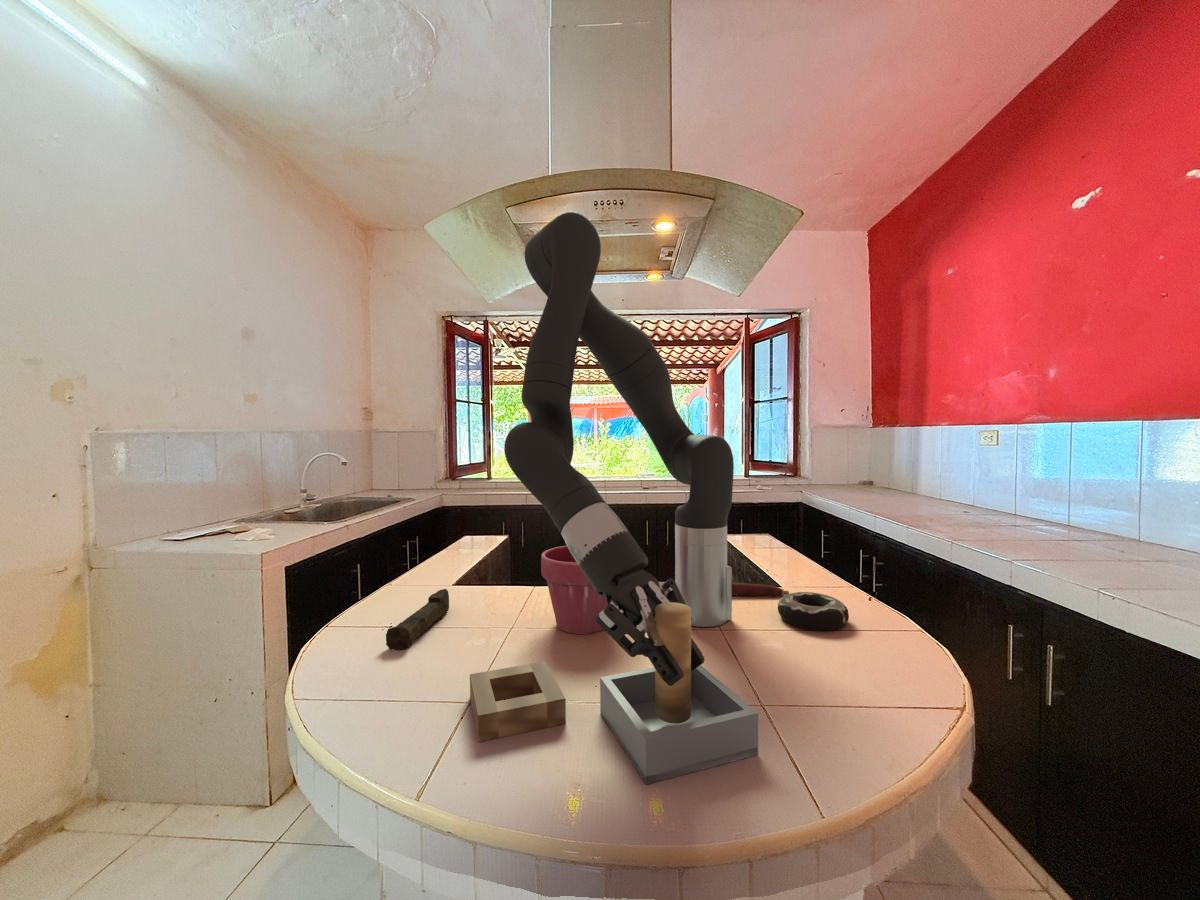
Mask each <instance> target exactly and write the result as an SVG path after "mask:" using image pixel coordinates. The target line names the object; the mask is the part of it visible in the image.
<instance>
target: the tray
mask: <svg viewBox="0 0 1200 900" xmlns="http://www.w3.org/2000/svg"><path fill="white" fill-rule="evenodd" d="M599 680H600V681H599V685H600V686H599V687H600V688H599V692H600V696H599V698H600V702H599V703H600V711H599V712H600V715H601V717H602V718H603V720H604V721H605V723H606V725H607V726H608V728H609V729H610V732H611V733H612V732H613V733H612V734H613V736H614V737H615V739H616V741H617V742H618V744H619V745H620V747H621V748H622V750H623V752H624V753H625V755H626V757H627V758H628V760H629V761H630V763H631V764H632V765H633V767H634V768H635V770H636V772H637V774H638V775H639V777H640V778H641V780H642V781H643V783H644V784H645V785H646V786H647V785H651V784H654V783H658V782H661V781H666V780H669V779H673V778H677V777H680V776H684V775H687V774H691V773H695V772H699V771H702V770H706V769H710V768H713V767H716V766H717V767H718V766H720V765H724V764H725V765H726V764H729V763H731V762H736V761H739V760H743V759H747V758H750V757H754V756H755V757H756V756H758V755H759V712H758V711H756V709H754V708H753V707H752V706H751V705H749V703H747V702H746V701H745V700H743V699H742V698H741V697H740V696H739V695H737V693H735V692H734V691H733V690H731V689H730V688H729V687H728V686H726V684H724V683H723V682H722V681H720V680H719V679H718V678H717V677H716V676H715V675H713V674H712V673H711V672H710V671H709V670H708V669H706V668H705V667H704V666H703V665H702V664H701V665H700V666H698V667H697V668H696V669H694V670H691V717H690V719H689V720H687V721H686V722H683V723H668V722H664V721H662V720H660V719H659V718H658V717H657V716H656V714H655V667H654V666H653V667H648V668H643V669H638V670H633V671H626V672H622V673H615V674H611V675H605V676H600V677H599Z"/></svg>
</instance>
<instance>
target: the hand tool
mask: <svg viewBox="0 0 1200 900" xmlns="http://www.w3.org/2000/svg"><path fill="white" fill-rule="evenodd" d="M427 599H428V601H427V602H426V603H425V605H423V606H421V607H420V608H419V609H418V610H416V611H415V612H414V613H412V614H411V615H410V616H408V617H406V618H405V619H404V620H403V621H401V622H400V623H398V624H397V625H396V626H394V627H390V628H387V631H386V634H385V640H386V641H385V642H386V643H385V645H386V646H387V647H388V649H389V650H391V651H406V650H407V649H409V646H411V645H412V644H413V642H414V640H415V639H416V638H417V637H418V636H420V635H421V633H423V632H424V631H426V630H428V628H429V627H430V626H431V625H432V624H434V622H436V621H438V620H437V619H440V620H443V619H444V618H445V617H446V615H447V614H448V612H449V609H450V595H449V590H448V589H446V588H443V589H439V590H437V591H436V592H435V593H433V594H431V595H430V596H428V598H427ZM447 611H448V612H447ZM446 613H447V614H446ZM444 616H445V617H444ZM443 617H444V618H443ZM442 618H443V619H442ZM392 649H394V650H392Z"/></svg>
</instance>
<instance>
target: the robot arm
mask: <svg viewBox="0 0 1200 900" xmlns="http://www.w3.org/2000/svg"><path fill="white" fill-rule="evenodd" d="M601 245H602V244H601V239H600V236H599V233H598V231H597V228H596V227H595V225H594V224H593V223H592V222H591V220H589V218H588V217H586V216H585V215H583V214H581V213H579V212H575V211H565V212H563V213H561V214H558V215H557V216H555V217H554V218H552V219H551V220H549V222H548V223H547V224H545V225H544V226H543V227H542V228H541V229H540V230H539V231H538V232H537V233H535V234H534V235H533V236H532V237H531V238H530V239H529V240H528V242H527V243H526V245H525V248H524V260H525V265H526V268H527V270H528V272H529V274H530V276H531V278H532V280H534V282H535V283H536V284H537V286H538V287H539V289H540V290H541V291H542V292H543V293H544V294H545V296H546V297H547V299H546V303H545V305H544V308H543V311H542V314H541V316H540V318H539V320H538V324H537V325H536V328H535V330H534V333H533V336H532V338H531V342H530V344H529V348H528V351H527V355H526V360H525V365H524V366H525V368H524V374H523V381H522V387H521V388H522V389H521V402H522V405H523V406H524V408H525V409H526V411H527V412H528V414H529V416H530V418H531V419H530V420H531V421H530V422H529V421H527V422H522V423H518V424H516V425H515V426H514V427H512V428H511V429H510V431H508V434H507V435H506V436H505V437H506V438H505V440H504V445H503V448H504V449H503V450H504V451H503V452H504V456H505V460H506V462H507V464H508V466H509V468H510V470H511V471H512V472H513V475H515V476H516V478H517V479H518V480H519V481H520V482H521V483H522V485H523V486H524V487H525V488H526V489H527V490H528V491H529V492H530V494H531V495H533V497H534V498H535V499H536V501H538V502H539V503H540V504H541V505H542V506H543V507H544V509H545V510H546V512H547V514H548V516H549V517H550V519H551V521H552V522H553V523H554V525H555V527H556V528H557V530H558V531H559V533H560V535H561V536H562V539H563V541H564V543H565V546H567V547H568V549H569V551H570V553H571V554H572V556H573V557H574V559H575V560H576V562H577V564H578V565H579V567H580V568H581V570H582V571H583V573H584V575H585V576H586V578H587V579H588V581H589V582H590V584H591V586H592V587H593V589H594V590H595V592H596V593H597V594H598V595H599V596H605V598H606V603H607V606H606V607H605V608H604V609H603V610H602V611H601V612H600V613H599V614H598V615H597V616H596V618H595V619H596V622H597V623H598V624H599V625H600V626H601V627H602V628H603V630H604V631H605V633H607V634H608V636H609V637H611V639H613V640H614V641H615V642H616V643H617V645H619V647H620V648H621V649H622V650H624V651H625V652H626V653H627V655H629V656H630V657H631V658H635V657H637V656H643V657H645V658H648V660H649V661H650V663H651V665H652V666H653V667H655V669H656V670H657V672H658V674H659V675H660V677H661V678H662V679H663V680H664V681H665V682H666V683H667V684H668V685H669V686H672V685H674V684H675V683H676V682H678V681H679V680H680V679H682V678H683V676H684V673H683V671H682V670H681V668H680V667H679V665H678V664H677V662H676V661H675V659H674V658H673V656H672V655H671V653H670V652H669V650H668V649H667V648H666V646H665V645H663V646H661V645H662V641H661V639H660V637H659V634H658V632H657V630H656V628H655V624H656V620H655V607H656V606H657V605H658V604H661V603H668V602H674V603H681V604H685V605H687V606H689V607H690V608H691V627H692V626H693V627H698V628H699V627H700V628H701V627H702V628H708V627H709V628H710V627H711V628H712V627H718V626H721V625H723V624H726V622H727V621H731V620H733V595H732V582H733V574H732V573H733V569H732V566H729V565H728V516H729V514H730V511H731V508H732V506H733V505H732V504H733V489H734V474H735V473H734V470H735V469H734V465H735V464H734V455H733V450H732V448H731V446H730V444H729V443H728V441H727V440H726V439H724V438H723V437H721V436H718V435H714V434H713V435H710V434H709V435H708V434H707V435H706V434H694V433H693V431H691V429H690V428H689V427H688V426H687V424H686V422H685V421H684V420H683V419H682V417H681V416H680V414H679V412H678V410H677V409H676V406H675V402H674V397H673V389H672V382H671V376H670V372H669V369H668V366H667V365H666V363H665V361H664V360H663V358H662V355H660V353H659V352H658V350H657V348H656V347H655V346H654V345H655V344H653V342H652V340H651V339H650V338H649V336H648V335H647V334H646V333H645V332H644V331H643V330H642V329H640V328H639V327H637V325H635V324H633V323H632V322H630V321H629V320H627V319H626V318H624V317H622V316H621V315H619V314H617V313H616V312H614V311H613V310H611V309H610V308H608V307H607V306H606V305H604V304H603V302H601V301H600V299H599V298H597V296H596V295H595V293H594V292H593V291H592V287H593V284H594V281H595V278H596V274H597V270H598V267H599V263H600V259H601V255H602V253H601V249H602V246H601ZM579 339H581V341H582V342H583V344H584V345H585V346H586V347H587V349H588V350H589V351H590V353H591V354H592V355H593V357H594V358H595V360H596V361H597V362H598V363H599V366H600V367H601V369H602V370H603V372H604V374H605V375H606V376H607V378H608V380H609V381H610V383H612V385H613V386H614V388H615V389H616V391H617V392H618V394H620V396H621V397H622V398H623V400H624V401H625V403H626V404H627V406H628V407H629V409H630V410H631V412H632V413H633V415H634V416H635V417H636V419H637V421H638V422H639V423H640V425H641V426H642V427H643V429H644V431H645V432H646V434H647V435H648V436H649V438H650V440H651V443H653V444H652V445H654V447H655V450H656V451H657V453H658V455H659V456H660V458H661V460H662V462H663V464H664V466H665V468H666V469H667V471H668V472H669V474H670V476H672V478H673V479H675V480H676V481H678V482H679V483H681V484H683V485H688V486H689V495H688V500H687V502H685V503H684V504H682V505H679V506H677V507H676V509H675V512H674V517H675V518H674V519H675V520H674V539H675V540H674V541H675V542H674V544H675V545H674V549H675V550H674V553H675V554H674V555H675V556H674V559H675V562H674V563H675V566H674V567H675V568H674V570H675V571H674V575H675V576H674V579H673V578H672V577H669V578H668V579H667V580H666V581H658V579H657V578H656V577H654V576H653V575H652V574H651V573H650V572H649V571H648V564H649V559H648V557H647V555H646V553H645V552H644V551H643V549H642V548H641V547H640V545H639V544H638V542H637V541H636V540H635V538H634V537H633V535H632V534H631V533H630V531H629V530H628V529H627V527H626V526H625V525H624V523H623V522H622V520H621V519H620V517H619V516H618V515H617V514H616V513H615V512H614V510H613V509H612V508H611V507H610V506H609V505H608V504H607V502H606V501H605V500H604V498H603V496H602V495H601V494H600V492H599V491H598V490H597V488H596V487H595V486H594V485H593V483H592V481H590V480H589V479H588V478H587V476H585V475H584V474H583V473H581V472H579V471H578V470H577V469H576V468H575V467H573V466H572V465H571V463H572V459H573V456H574V450H575V449H574V447H575V446H574V445H575V444H574V442H575V441H574V430H573V417H572V411H571V399H572V391H573V381H574V374H575V364H576V357H577V350H578V346H579V345H578V344H579ZM626 635H628V636H629V637H630V638H631V639H632V640H633V641H632V640H630V639H629V637H627V636H626ZM646 635H647V636H646ZM705 661H706V659H705V656H704V655H703V652H702V650H701V649H700V648H699V646H698V645H697V644H696V642H695V640H694V639H693V638H692V637H691V670H694V669H696V668H697V667H698V666H700V665H701V666H702V664H703V663H705Z"/></svg>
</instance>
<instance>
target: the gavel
mask: <svg viewBox="0 0 1200 900" xmlns="http://www.w3.org/2000/svg"><path fill="white" fill-rule="evenodd" d="M787 594H790V591H789V590H784V589H783V588H780V587H779V586H777V585H772V584H771V585H770V584H760V583H759V584H757V583H746V582H734V581H732V596H740V595H741V596H742V597H755V596H772V597H771V598H777V597H776V596H780V597H783V596H785V595H787Z"/></svg>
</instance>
